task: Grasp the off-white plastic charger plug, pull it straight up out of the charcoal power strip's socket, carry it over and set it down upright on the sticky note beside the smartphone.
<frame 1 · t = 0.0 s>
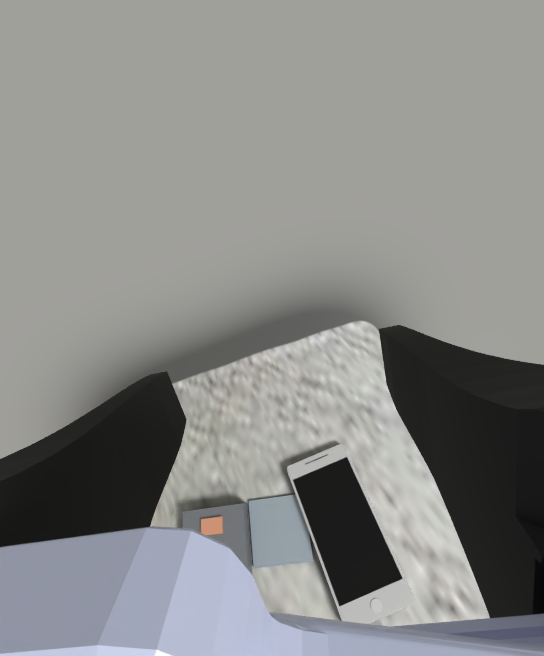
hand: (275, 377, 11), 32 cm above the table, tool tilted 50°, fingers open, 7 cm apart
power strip: (221, 603, 36), on the table
smartphone: (344, 527, 37), on the table, touching sticky note
sticky note: (279, 529, 38), on the table
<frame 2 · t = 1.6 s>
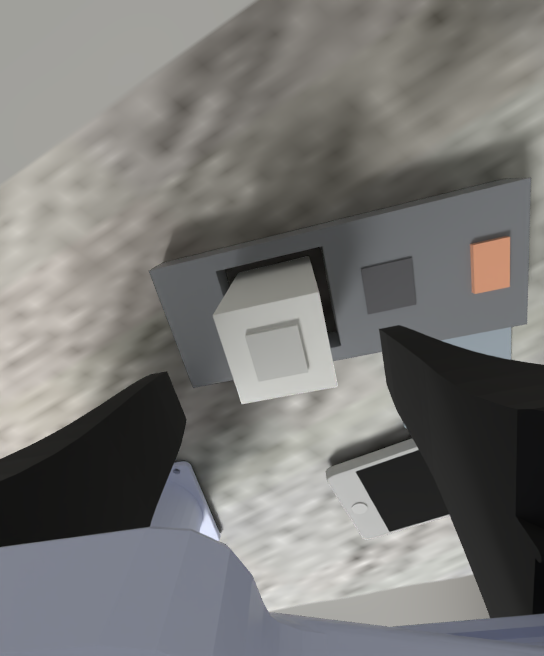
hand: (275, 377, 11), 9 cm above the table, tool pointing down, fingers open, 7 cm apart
charger plug: (281, 298, 20), resting in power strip
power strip: (333, 286, 19), on the table
smartphone: (449, 464, 23), on the table, touching sticky note
sticky note: (451, 374, 21), on the table
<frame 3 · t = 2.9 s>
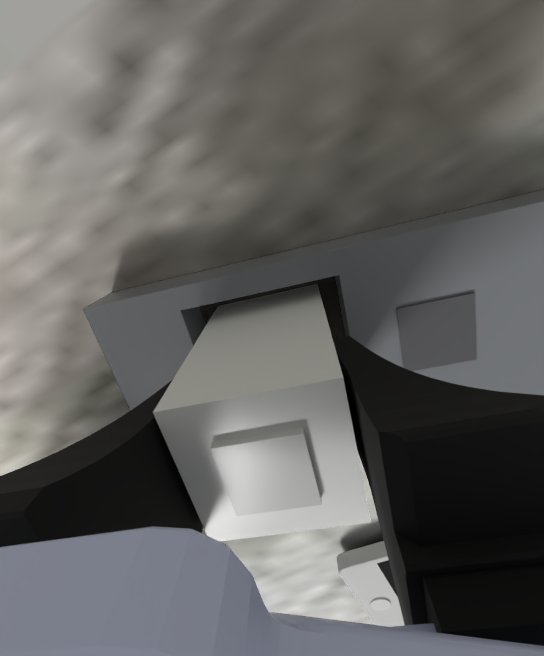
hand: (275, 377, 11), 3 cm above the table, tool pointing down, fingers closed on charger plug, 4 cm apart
charger plug: (278, 340, 14), resting in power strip, touching gripper
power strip: (351, 326, 14), on the table
smartphone: (498, 549, 18), on the table, touching sticky note
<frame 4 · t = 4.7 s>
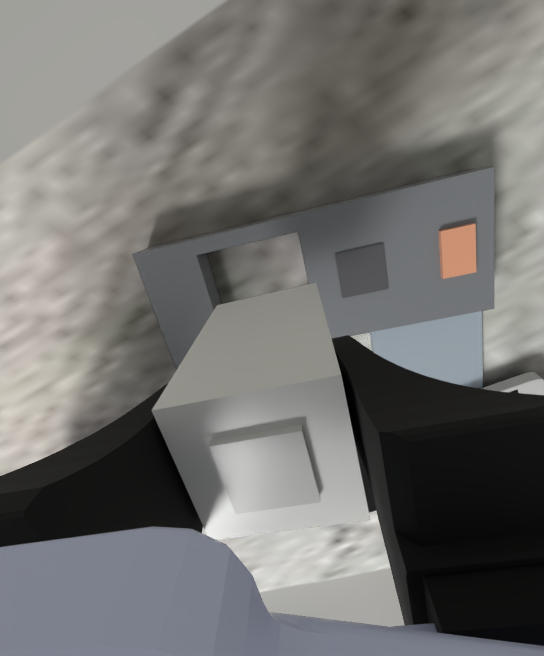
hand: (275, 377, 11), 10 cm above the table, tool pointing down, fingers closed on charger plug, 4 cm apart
charger plug: (277, 339, 14), point 7 cm above the table, touching gripper
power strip: (311, 272, 20), on the table
smartphone: (425, 447, 24), on the table, touching sticky note
sticky note: (426, 359, 22), on the table
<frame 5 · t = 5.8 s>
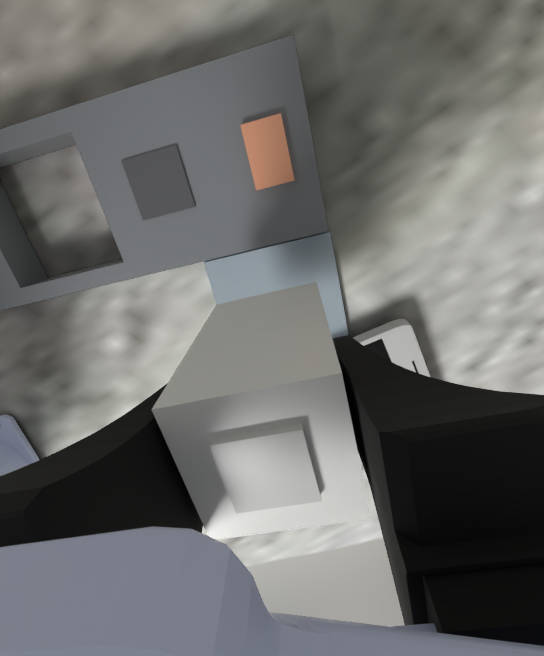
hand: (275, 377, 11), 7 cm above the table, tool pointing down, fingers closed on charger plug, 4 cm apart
charger plug: (277, 339, 14), point 4 cm above the table, touching gripper
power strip: (126, 198, 17), on the table
smartphone: (297, 415, 21), on the table, touching sticky note
sticky note: (280, 306, 18), on the table
when the fingers open (5 cm above the table, at t = 6.7 s): charger plug drops 1 cm, resting on sticky note.
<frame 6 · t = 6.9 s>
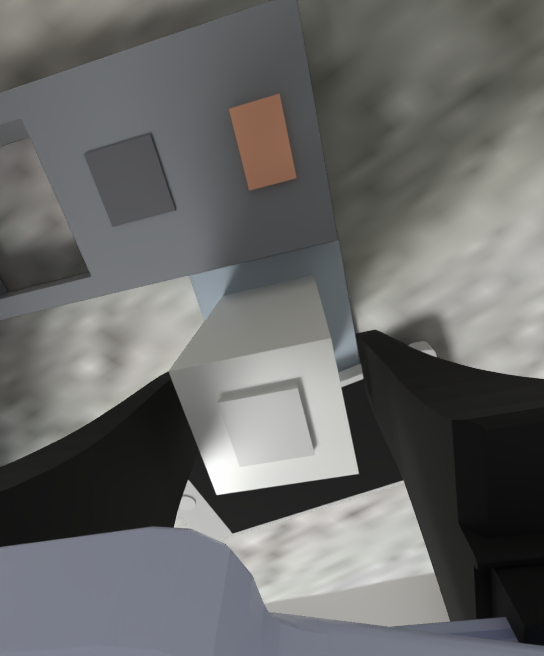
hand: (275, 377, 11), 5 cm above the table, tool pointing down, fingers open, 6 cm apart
charger plug: (278, 328, 15), resting on sticky note
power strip: (96, 199, 14), on the table
smartphone: (298, 447, 18), on the table, touching sticky note
sticky note: (279, 325, 16), on the table
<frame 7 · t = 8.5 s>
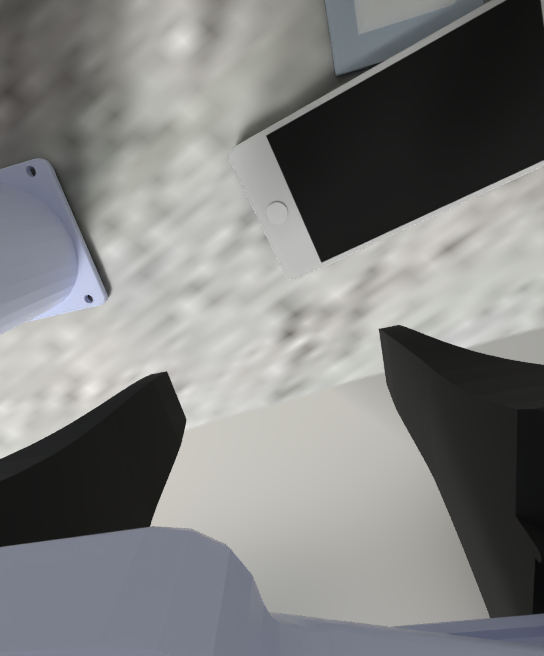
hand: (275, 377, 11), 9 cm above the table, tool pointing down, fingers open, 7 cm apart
smartphone: (401, 147, 17), on the table, touching sticky note
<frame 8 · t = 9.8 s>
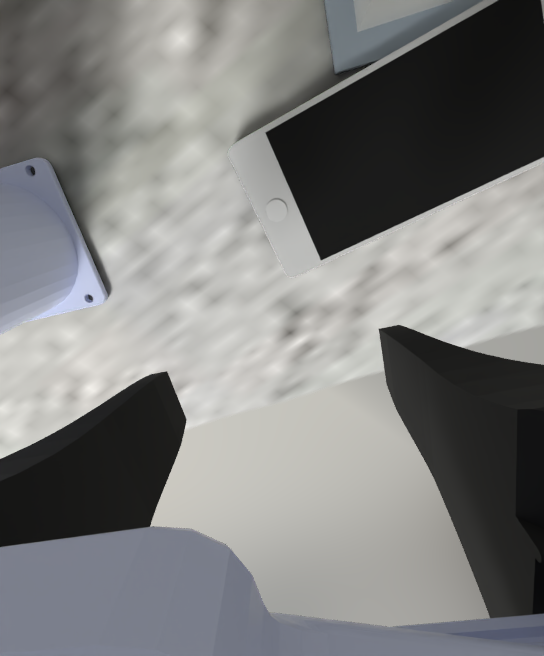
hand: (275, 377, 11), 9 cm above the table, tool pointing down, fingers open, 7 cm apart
smartphone: (400, 144, 17), on the table, touching sticky note
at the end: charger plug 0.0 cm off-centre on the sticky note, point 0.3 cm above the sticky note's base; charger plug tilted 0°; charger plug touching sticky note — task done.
